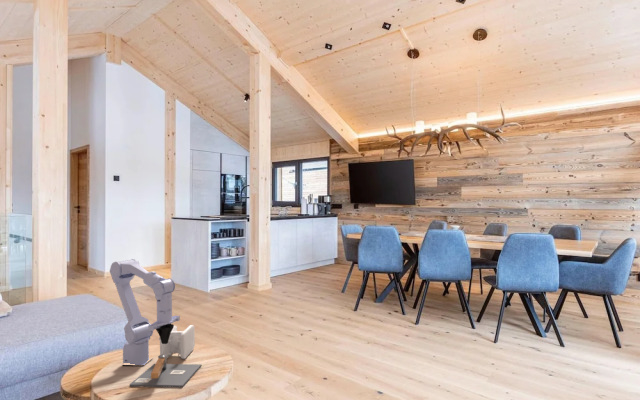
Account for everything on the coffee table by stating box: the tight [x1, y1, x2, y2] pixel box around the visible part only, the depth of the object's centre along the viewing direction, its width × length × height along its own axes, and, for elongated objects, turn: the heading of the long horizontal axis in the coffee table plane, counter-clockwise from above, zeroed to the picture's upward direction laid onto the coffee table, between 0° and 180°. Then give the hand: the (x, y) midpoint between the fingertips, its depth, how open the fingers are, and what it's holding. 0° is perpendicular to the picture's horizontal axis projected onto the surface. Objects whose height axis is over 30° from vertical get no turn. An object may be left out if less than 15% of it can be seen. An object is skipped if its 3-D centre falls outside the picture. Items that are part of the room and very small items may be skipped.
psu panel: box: [129, 363, 202, 389], centre depth 147 cm, size 20×18×1 cm
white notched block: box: [159, 324, 196, 360], centre depth 168 cm, size 15×11×12 cm
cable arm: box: [151, 354, 167, 379], centre depth 145 cm, size 16×3×5 cm, turn 13°
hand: (164, 343), depth 154 cm, fingers closed
